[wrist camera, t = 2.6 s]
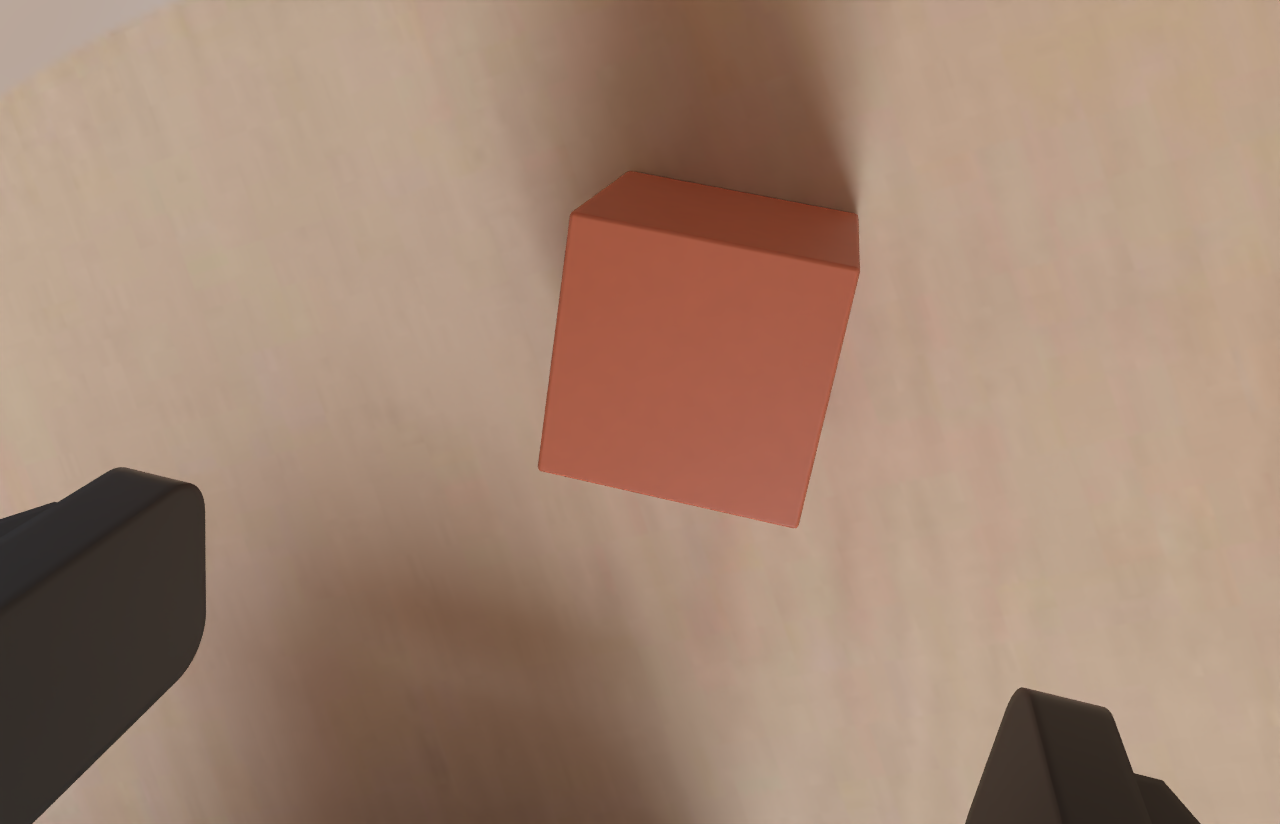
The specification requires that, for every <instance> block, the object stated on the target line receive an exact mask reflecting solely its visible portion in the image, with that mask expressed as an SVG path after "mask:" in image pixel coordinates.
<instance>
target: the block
mask: <svg viewBox="0 0 1280 824" xmlns="http://www.w3.org/2000/svg"><path fill="white" fill-rule="evenodd" d="M859 273H860V261H859V223H858V215H857V214H855V213H850V212H844V211H839V210H834V209H829V208H823V207H818V206H813V205H807V204H802V203H797V202H792V201H786V200H781V199H776V198H770V197H765V196H760V195H755V194H749V193H744V192H739V191H734V190H728V189H723V188H718V187H712V186H707V185H702V184H697V183H691V182H686V181H681V180H675V179H670V178H665V177H660V176H654V175H649V174H644V173H639V172H633V171H628V172H626V173H625V174H624V175H622V176H621V177H620V178H618V179H617V180H615V181H614V182H613V183H611V184H610V185H609V186H607V187H606V188H604V189H603V190H602V191H600V192H599V193H598V194H596V195H595V196H593V197H592V198H591V199H589V200H588V201H586V202H585V203H584V204H582V205H581V206H580V207H578V208H577V209H575V210H574V211H573V212H572V213H571V214H570V219H569V227H568V235H567V243H566V251H565V258H564V266H563V274H562V282H561V290H560V298H559V305H558V313H557V321H556V329H555V337H554V345H553V352H552V360H551V368H550V376H549V384H548V392H547V399H546V407H545V415H544V423H543V431H542V439H541V446H540V454H539V462H538V468H539V470H540V471H543V472H548V473H552V474H557V475H561V476H565V477H570V478H574V479H579V480H583V481H587V482H592V483H596V484H601V485H605V486H610V487H614V488H618V489H623V490H627V491H632V492H636V493H640V494H645V495H649V496H654V497H658V498H663V499H667V500H671V501H676V502H680V503H685V504H689V505H693V506H698V507H702V508H707V509H711V510H715V511H720V512H724V513H729V514H733V515H738V516H742V517H746V518H751V519H755V520H760V521H764V522H768V523H773V524H777V525H782V526H786V527H791V528H797V526H798V525H799V521H800V517H801V513H802V509H803V505H804V501H805V497H806V492H807V488H808V484H809V480H810V476H811V472H812V468H813V463H814V459H815V455H816V451H817V447H818V443H819V439H820V435H821V430H822V426H823V422H824V418H825V414H826V410H827V406H828V401H829V397H830V393H831V389H832V385H833V381H834V377H835V373H836V368H837V364H838V360H839V356H840V352H841V348H842V344H843V339H844V335H845V331H846V327H847V323H848V319H849V315H850V310H851V306H852V302H853V298H854V294H855V290H856V286H857V282H858V277H859Z"/></svg>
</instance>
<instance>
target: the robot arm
mask: <svg viewBox="0 0 1280 824" xmlns="http://www.w3.org/2000/svg"><path fill="white" fill-rule="evenodd" d="M205 619H206V571H205V504H204V499H203V496H202V493H201V491H200V490H199V488H198V487H196V486H195V485H193V484H191V483H187V482H183V481H178V480H174V479H170V478H166V477H162V476H158V475H154V474H150V473H145V472H141V471H137V470H133V469H129V468H125V467H119V468H115V469H112V470H110V471H108V472H106V473H105V474H103V475H102V476H100V477H98V478H97V479H95V480H93V481H92V482H90V483H89V484H87V485H85V486H84V487H82V488H80V489H79V490H77V491H76V492H74V493H72V494H71V495H69V496H67V497H66V498H64V499H63V500H61V501H59V502H58V503H57V502H53V503H50V504H46V505H43V506H40V507H37V508H34V509H31V510H28V511H25V512H22V513H18V514H15V515H12V516H9V517H6V518H3V519H0V824H32V823H33V822H34V821H35V820H36V819H37V818H38V817H40V816H41V815H42V814H43V813H44V812H45V811H46V810H47V809H48V808H49V807H50V806H51V805H52V804H53V803H54V802H55V801H56V800H57V799H58V798H59V797H60V796H61V795H62V794H63V793H64V792H65V791H66V790H67V789H68V788H69V787H70V786H71V785H72V784H73V783H74V782H75V781H76V780H77V779H78V778H79V777H80V776H81V775H82V774H83V773H84V772H85V771H86V770H87V769H88V768H89V767H90V766H91V765H92V764H93V763H94V762H95V761H96V760H97V759H98V758H99V757H100V756H101V755H102V754H103V753H104V752H105V751H106V750H107V749H108V748H109V747H110V746H111V745H113V744H114V743H115V742H116V741H117V740H118V739H119V738H120V737H121V736H122V735H123V734H124V733H125V732H126V731H127V730H128V729H129V728H130V727H131V726H132V725H133V724H134V723H135V722H136V721H137V720H138V719H139V718H140V717H141V716H142V715H143V714H144V713H145V712H146V711H147V710H148V709H149V708H150V707H151V706H152V705H153V704H154V703H155V702H156V701H157V700H158V699H159V698H160V697H161V696H162V695H163V694H164V693H165V692H166V691H167V690H168V689H169V688H170V687H171V686H172V685H173V684H174V683H175V682H176V681H177V680H178V679H179V678H180V677H181V676H182V675H183V674H184V672H185V671H186V670H187V668H188V667H189V665H190V663H191V662H192V660H193V658H194V656H195V654H196V652H197V649H198V647H199V644H200V641H201V638H202V635H203V631H204V626H205ZM965 824H1200V823H1199V822H1198V820H1197V819H1196V818H1195V817H1194V816H1193V815H1192V813H1191V812H1190V811H1189V810H1188V809H1187V808H1186V807H1185V805H1184V804H1183V803H1182V802H1181V801H1180V800H1179V799H1178V797H1177V796H1176V795H1175V794H1174V793H1173V792H1172V791H1171V789H1170V788H1169V787H1168V786H1167V785H1166V784H1165V783H1164V781H1163V780H1159V779H1155V778H1151V777H1147V776H1143V775H1139V774H1135V773H1133V770H1132V767H1131V765H1130V762H1129V759H1128V756H1127V754H1126V751H1125V748H1124V745H1123V743H1122V740H1121V737H1120V734H1119V732H1118V729H1117V726H1116V723H1115V721H1114V718H1113V716H1112V714H1111V712H1110V711H1109V710H1108V709H1107V708H1105V707H1101V706H1097V705H1093V704H1089V703H1085V702H1081V701H1076V700H1072V699H1068V698H1064V697H1060V696H1056V695H1052V694H1048V693H1043V692H1039V691H1035V690H1031V689H1027V688H1019V689H1018V690H1017V691H1016V692H1015V693H1014V694H1013V696H1012V697H1011V699H1010V701H1009V703H1008V706H1007V708H1006V711H1005V713H1004V716H1003V719H1002V722H1001V725H1000V727H999V730H998V733H997V736H996V738H995V741H994V744H993V747H992V749H991V752H990V755H989V758H988V761H987V763H986V766H985V769H984V772H983V774H982V777H981V780H980V783H979V785H978V788H977V791H976V794H975V797H974V799H973V802H972V805H971V808H970V810H969V813H968V816H967V819H966V823H965Z"/></svg>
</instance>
